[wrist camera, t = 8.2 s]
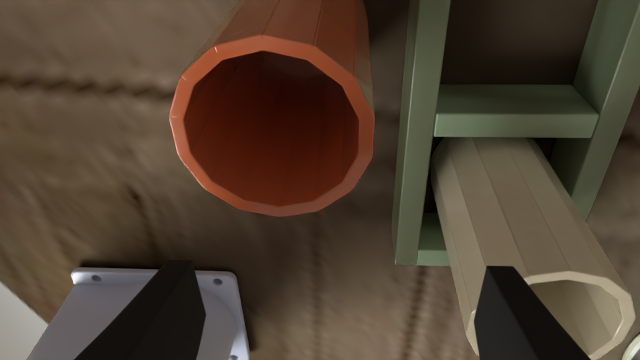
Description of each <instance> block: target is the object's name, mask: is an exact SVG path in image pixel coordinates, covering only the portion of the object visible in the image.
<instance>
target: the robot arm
mask: <svg viewBox="0 0 640 360" xmlns="http://www.w3.org/2000/svg"><path fill="white" fill-rule="evenodd" d="M71 278H72V280H73V282H74V284H75V285H74V287H73V288H72V290H71V291H70V293H69V294H68V296H67V298H66V299H65V301H64V302H63V304H62V305H61V307H60V308H59V310H58V312H57V313H56V315H55V316H54V318H53V319H52V321H51V322H50V324H49V326H48V327H47V329H46V330H45V332H44V333H43V335H42V337H41V338H40V339H39V341H38V343H37V344H36V346H35V347H34V349H33V350H32V352H31V353H30V355H29V357H28V358H27V360H249V357H250V350H249V344H248V339H247V333H246V327H245V322H244V316H243V311H242V305H241V300H240V294H239V289H238V283H237V278H236V276H235V275H234V274H233V273H231V272H227V271H195V269H194V266H193V262H192V260H168V261H167V262H166V263H165V264H164V265H163V266H162V267H161V268H160V269H159V270H158V269H122V268H87V267H78V268H75V269H74V270H73V272H72V273H71ZM217 279H220V280H217ZM474 327H475V333H476V340H477V346H478V351H479V357H480V360H591V359H590V358H589V357H588V355H587V354H586V353H585V352H584V351H583V350H582V349H581V348H580V347H579V345H578V344H577V343H576V342H575V341H574V340H573V338H572V337H571V336H570V335H569V334H568V333H567V332H566V330H565V329H564V328H563V327H562V326H561V325H560V323H559V322H558V321H557V320H556V319H555V317H554V316H553V315H552V314H551V313H550V311H549V310H548V309H547V308H546V306H545V305H544V304H543V303H542V302H541V300H540V299H539V298H538V297H537V295H536V294H535V293H534V291H533V290H532V289H531V288H530V286H529V285H528V284H527V283H526V281H525V280H524V279H523V277H522V276H521V275H520V274H519V272H518V271H517V270H516V269H515V268H514V267H513V266H486V271H485V275H484V279H483V283H482V288H481V292H480V296H479V300H478V305H477V309H476V313H475V317H474Z"/></svg>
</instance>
